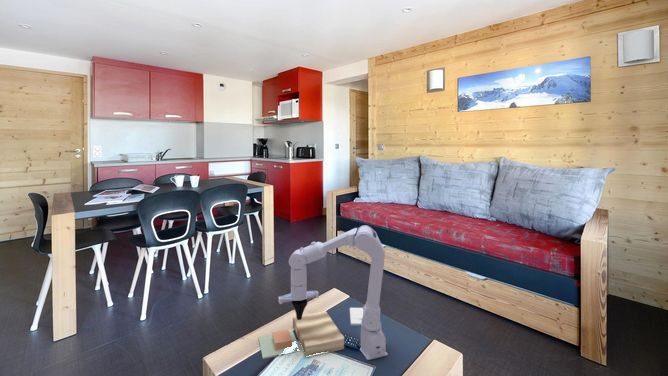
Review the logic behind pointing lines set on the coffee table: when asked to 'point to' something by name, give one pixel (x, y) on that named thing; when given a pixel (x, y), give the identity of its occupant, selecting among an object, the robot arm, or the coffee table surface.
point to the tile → (281, 339)
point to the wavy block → (318, 333)
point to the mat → (272, 346)
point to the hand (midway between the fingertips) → (299, 318)
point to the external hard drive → (356, 316)
